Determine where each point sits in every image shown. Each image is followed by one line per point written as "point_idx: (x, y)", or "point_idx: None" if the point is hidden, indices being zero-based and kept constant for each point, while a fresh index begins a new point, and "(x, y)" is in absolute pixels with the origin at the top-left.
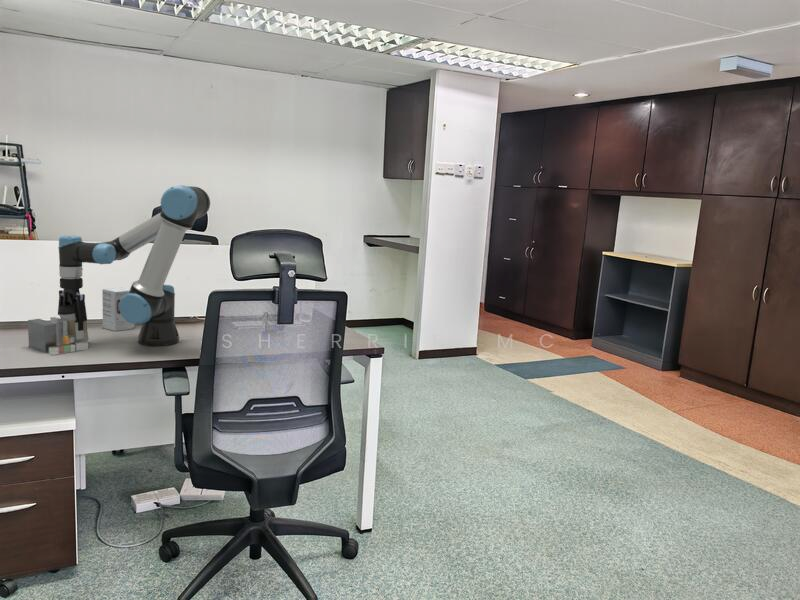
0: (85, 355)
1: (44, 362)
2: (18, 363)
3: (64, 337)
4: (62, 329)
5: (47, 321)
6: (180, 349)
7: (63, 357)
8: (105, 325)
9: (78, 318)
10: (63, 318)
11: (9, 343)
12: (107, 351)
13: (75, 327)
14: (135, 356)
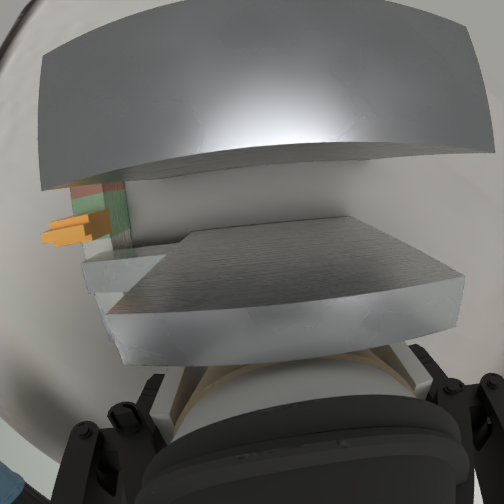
0: (34, 260)
1: (23, 89)
2: (70, 8)
3: (74, 225)
4: (161, 269)
5: (264, 134)
6: (59, 454)
7: (39, 169)
8: None
9: (121, 450)
10: (257, 384)
11: None
12: (66, 353)
13: (172, 379)
14: (6, 364)
